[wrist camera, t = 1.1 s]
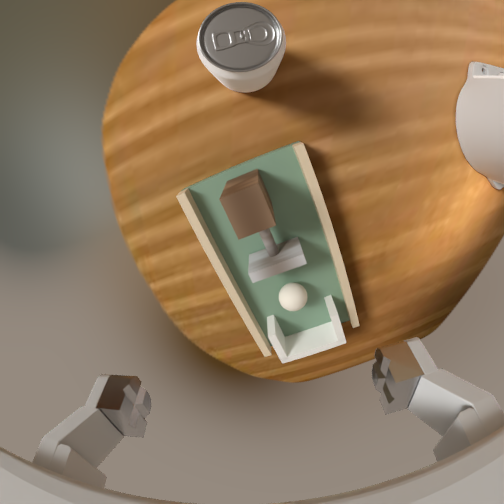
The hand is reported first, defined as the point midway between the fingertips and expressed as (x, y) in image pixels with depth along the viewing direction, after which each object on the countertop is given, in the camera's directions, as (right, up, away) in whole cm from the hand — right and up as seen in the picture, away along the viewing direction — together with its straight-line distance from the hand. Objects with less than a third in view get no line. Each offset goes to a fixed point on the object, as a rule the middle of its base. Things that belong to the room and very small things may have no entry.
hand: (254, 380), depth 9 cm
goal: (+7, -5, +30) cm, 31 cm away
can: (-1, +24, +17) cm, 29 cm away
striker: (+1, +8, +23) cm, 24 cm away
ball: (+5, -1, +26) cm, 26 cm away
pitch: (+3, +3, +27) cm, 27 cm away
